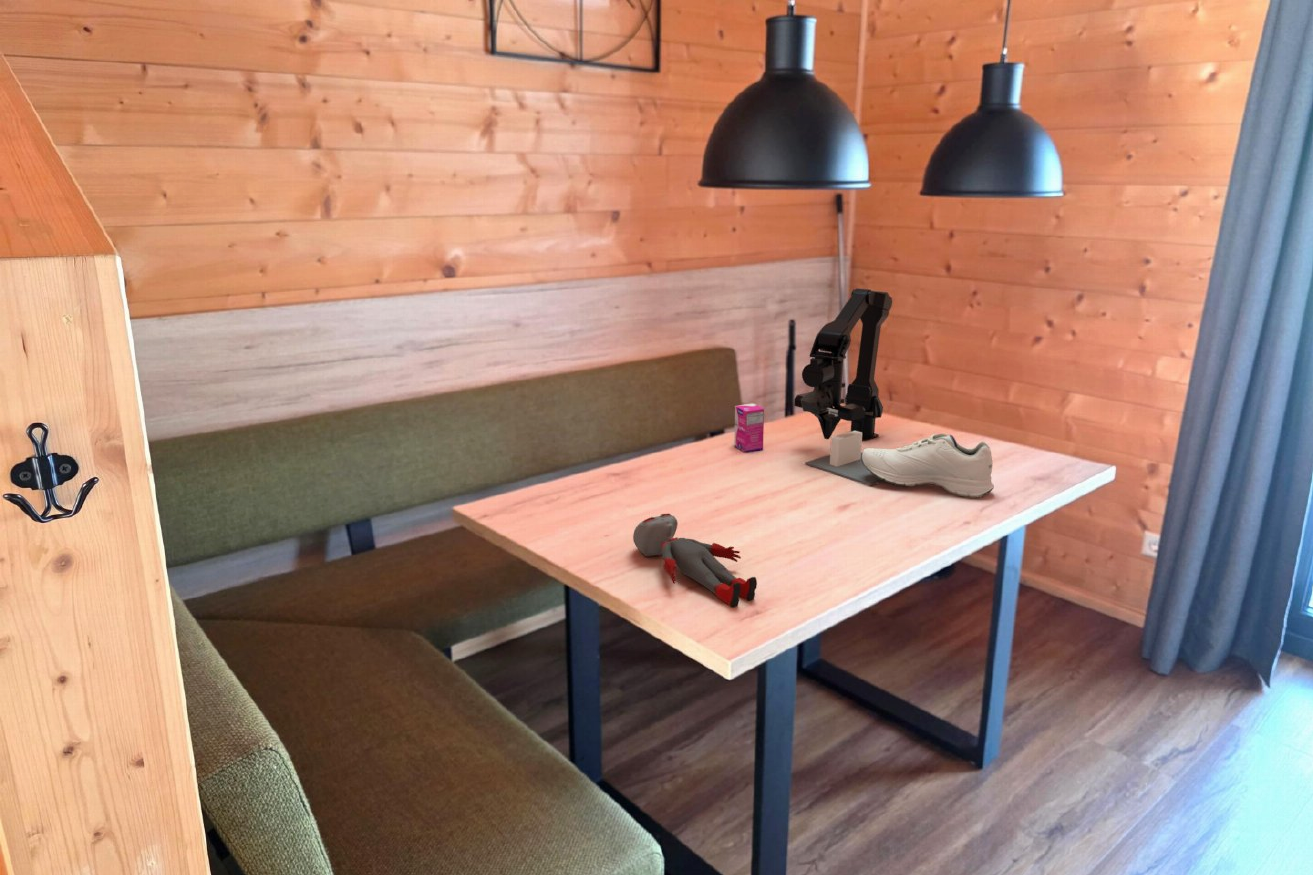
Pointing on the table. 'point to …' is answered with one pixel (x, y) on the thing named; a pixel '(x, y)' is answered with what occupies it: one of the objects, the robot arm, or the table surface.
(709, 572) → the toy
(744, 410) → the supplement box
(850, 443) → the cream rectangular block
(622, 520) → the table surface
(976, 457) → the running shoe
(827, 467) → the charcoal mat
